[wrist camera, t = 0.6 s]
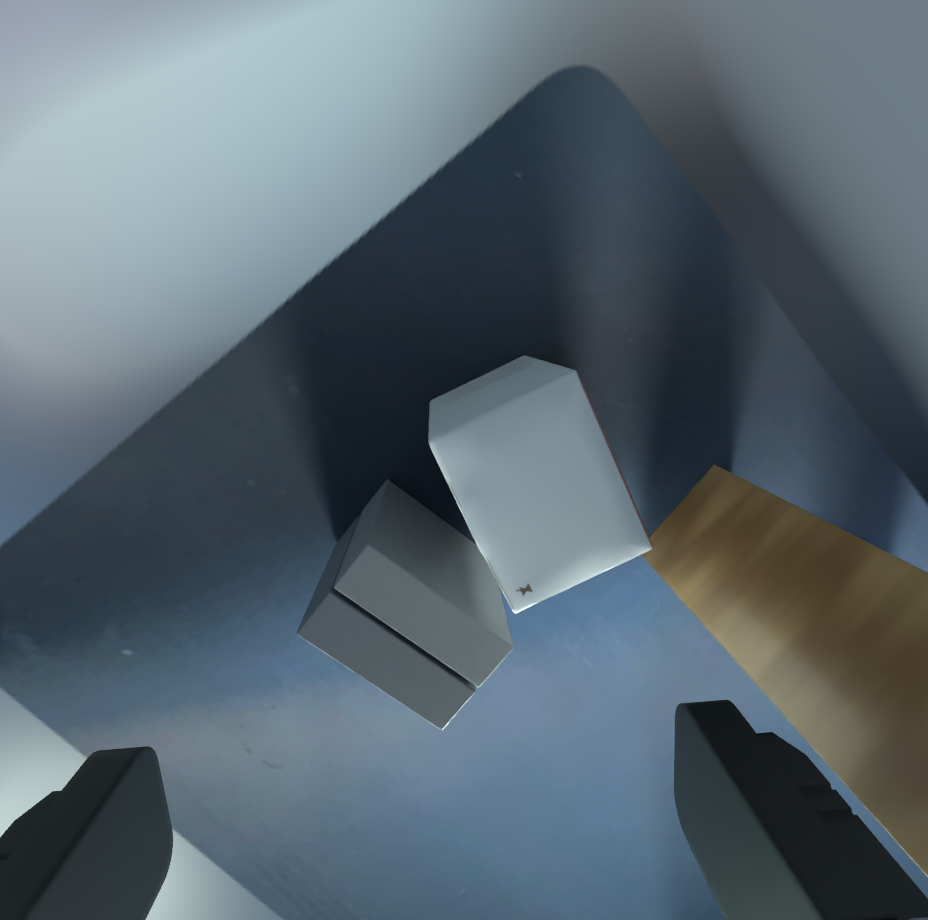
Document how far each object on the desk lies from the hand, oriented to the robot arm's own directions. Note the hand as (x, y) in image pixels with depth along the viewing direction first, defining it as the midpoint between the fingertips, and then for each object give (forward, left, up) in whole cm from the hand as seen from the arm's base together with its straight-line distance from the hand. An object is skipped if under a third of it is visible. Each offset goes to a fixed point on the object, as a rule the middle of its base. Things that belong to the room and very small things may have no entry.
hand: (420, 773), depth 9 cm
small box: (-3, +3, -28) cm, 28 cm away
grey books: (+6, +3, -27) cm, 28 cm away
